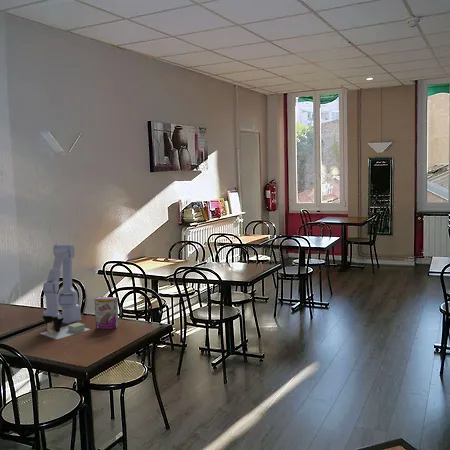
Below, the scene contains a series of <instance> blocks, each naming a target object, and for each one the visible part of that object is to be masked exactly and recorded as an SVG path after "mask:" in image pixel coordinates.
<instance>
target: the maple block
mask: <svg viewBox="0 0 450 450" xmlns="http://www.w3.org/2000/svg"><path fill="white" fill-rule="evenodd" d="M46 329H47V331H48V333H50V334H55V333H59V332H60V331H58V332H56V331H55V327H54V323H53V321H52V322H50V323H47V326H46ZM47 331H46V332H47Z"/></svg>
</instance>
